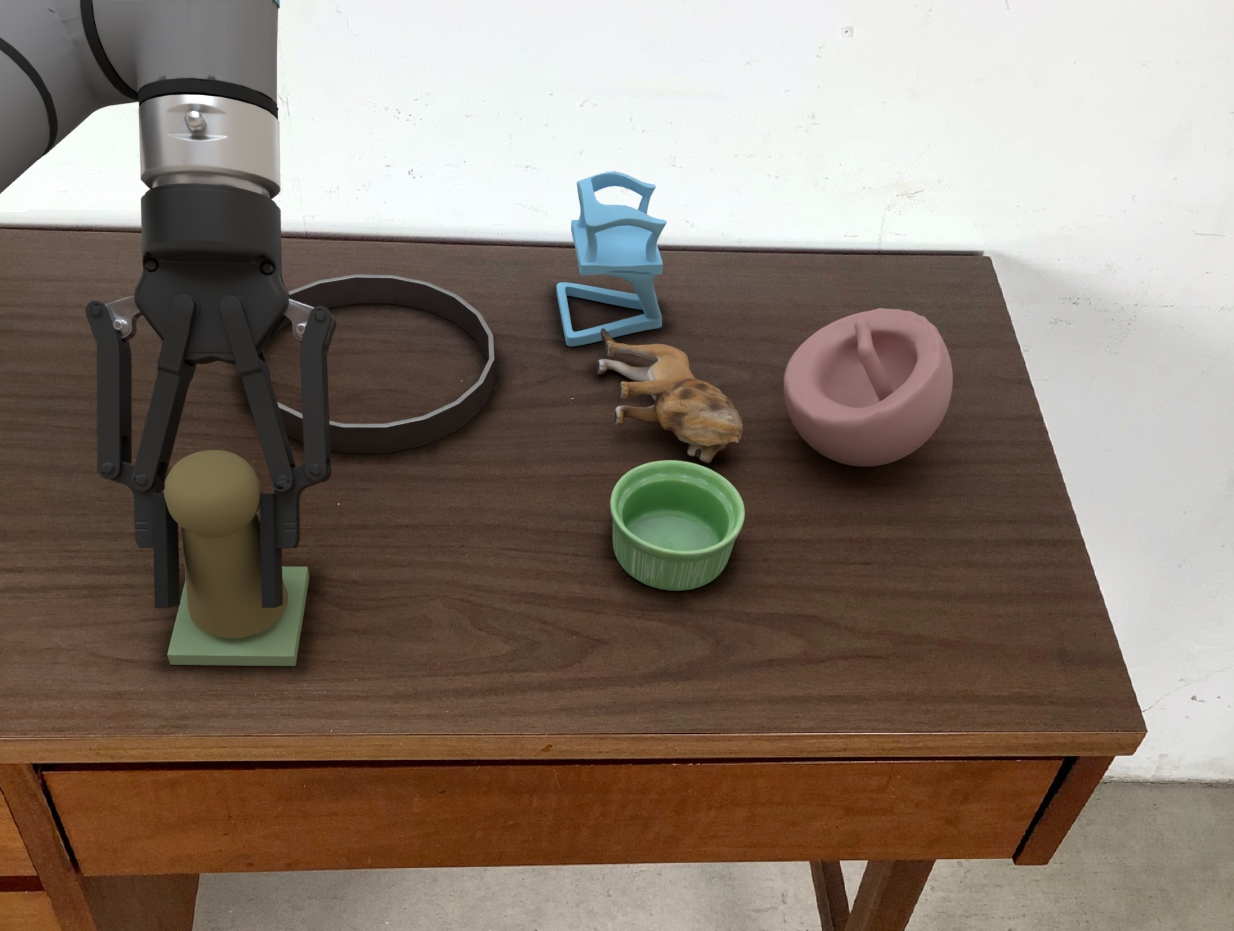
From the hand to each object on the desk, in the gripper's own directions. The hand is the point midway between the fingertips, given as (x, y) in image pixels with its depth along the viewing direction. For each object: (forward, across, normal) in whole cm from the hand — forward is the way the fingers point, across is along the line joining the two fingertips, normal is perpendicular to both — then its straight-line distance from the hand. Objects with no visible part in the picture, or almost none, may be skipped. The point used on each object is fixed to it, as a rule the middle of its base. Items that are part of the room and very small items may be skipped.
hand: (220, 605), depth 70 cm
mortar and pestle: (-11, +43, +19) cm, 48 cm away
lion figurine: (-15, +24, +19) cm, 34 cm away
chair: (-22, +26, +30) cm, 45 cm away
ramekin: (-3, +28, +11) cm, 30 cm away
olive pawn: (0, 0, +5) cm, 5 cm away
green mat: (+1, 0, +6) cm, 7 cm away
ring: (-16, +7, +24) cm, 30 cm away
